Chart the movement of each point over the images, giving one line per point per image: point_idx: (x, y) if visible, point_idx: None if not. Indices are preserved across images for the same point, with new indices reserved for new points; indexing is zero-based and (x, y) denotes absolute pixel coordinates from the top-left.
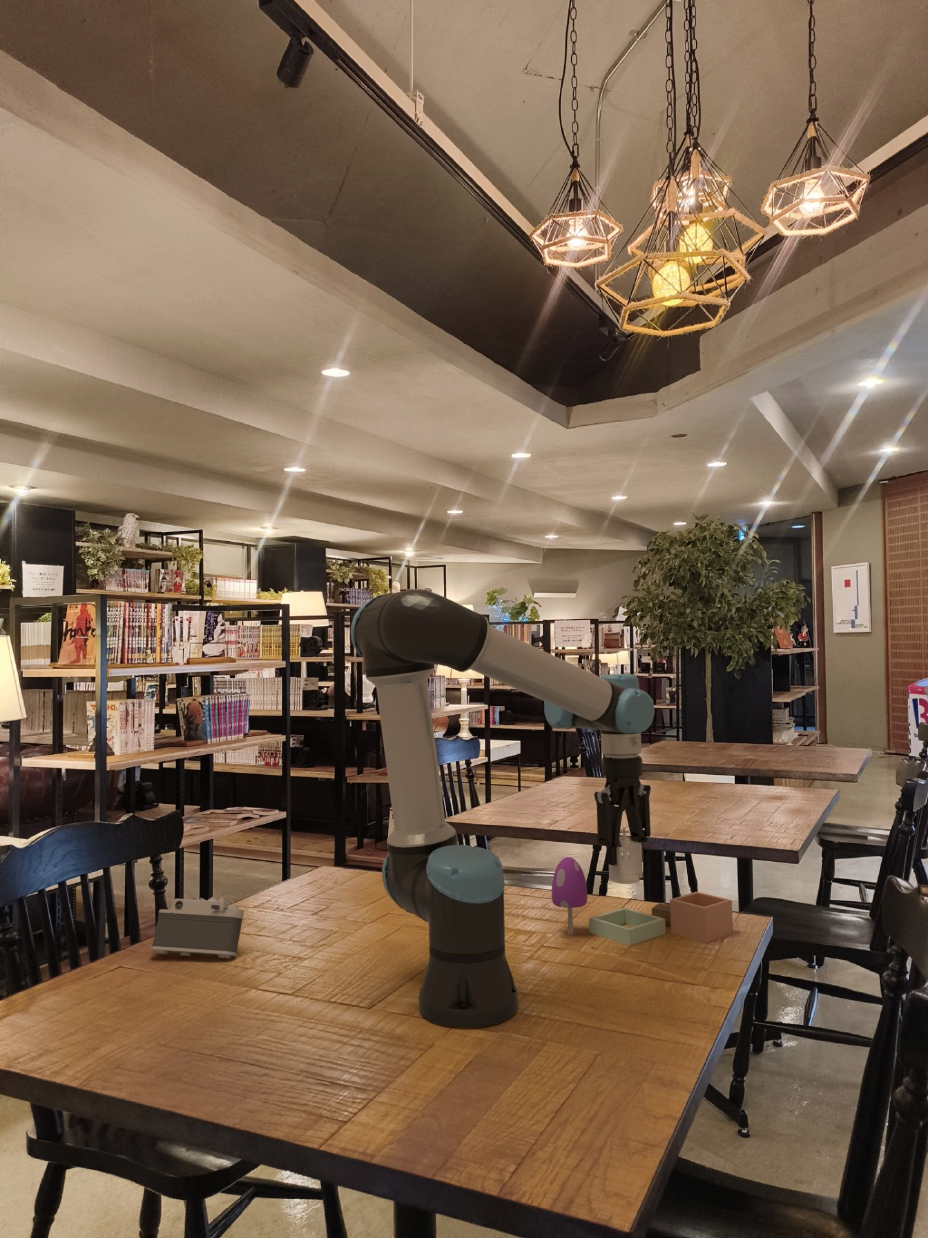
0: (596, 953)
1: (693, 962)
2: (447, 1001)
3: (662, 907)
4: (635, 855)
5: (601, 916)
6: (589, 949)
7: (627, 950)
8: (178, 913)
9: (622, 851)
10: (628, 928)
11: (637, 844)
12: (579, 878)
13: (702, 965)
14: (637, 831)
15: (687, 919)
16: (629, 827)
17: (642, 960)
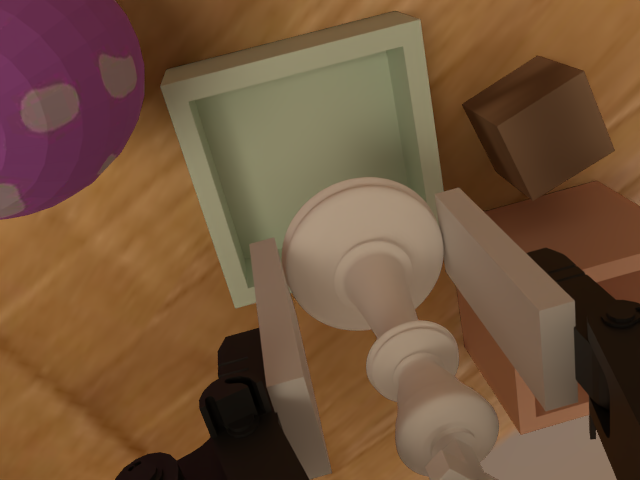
0: (97, 250)
1: (343, 421)
2: None
3: (544, 138)
4: (496, 318)
5: (233, 89)
6: (91, 203)
7: None
8: None
9: (375, 382)
10: (244, 290)
11: (539, 394)
12: (28, 214)
13: (349, 445)
14: (616, 467)
15: (487, 331)
16: (627, 413)
17: (215, 361)
